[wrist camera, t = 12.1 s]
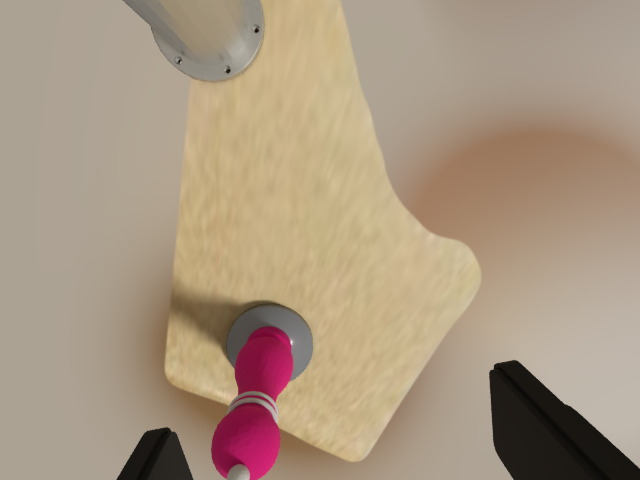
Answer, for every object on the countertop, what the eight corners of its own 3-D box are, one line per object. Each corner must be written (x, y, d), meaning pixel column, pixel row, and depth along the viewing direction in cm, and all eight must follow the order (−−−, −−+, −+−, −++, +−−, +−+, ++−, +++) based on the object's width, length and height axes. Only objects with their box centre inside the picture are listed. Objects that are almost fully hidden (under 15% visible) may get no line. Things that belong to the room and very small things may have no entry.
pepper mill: (232, 349, 43) (168, 494, 24) (265, 312, 42) (226, 432, 23) (272, 378, 44) (243, 540, 25) (305, 343, 43) (302, 483, 24)
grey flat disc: (214, 321, 44) (207, 332, 41) (294, 292, 43) (293, 301, 40) (248, 390, 46) (244, 406, 43) (324, 363, 46) (325, 378, 42)
